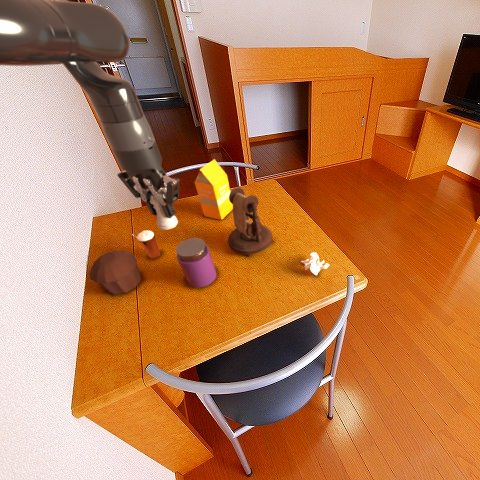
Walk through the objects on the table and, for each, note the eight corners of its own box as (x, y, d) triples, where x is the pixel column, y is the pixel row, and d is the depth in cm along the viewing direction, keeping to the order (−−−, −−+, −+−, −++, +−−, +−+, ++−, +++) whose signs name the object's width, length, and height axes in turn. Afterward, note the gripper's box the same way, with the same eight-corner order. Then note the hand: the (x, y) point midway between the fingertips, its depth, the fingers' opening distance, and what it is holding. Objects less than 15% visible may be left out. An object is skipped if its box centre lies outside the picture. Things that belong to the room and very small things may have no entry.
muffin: (109, 271, 83) (92, 246, 76) (149, 265, 85) (136, 240, 79) (95, 302, 74) (74, 277, 68) (140, 295, 76) (124, 270, 70)
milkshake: (144, 253, 89) (131, 228, 83) (162, 248, 91) (151, 224, 84) (144, 262, 86) (130, 237, 80) (162, 257, 88) (151, 233, 81)
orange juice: (204, 216, 105) (189, 167, 92) (217, 204, 112) (205, 157, 99) (222, 220, 104) (209, 171, 91) (234, 207, 110) (224, 160, 97)
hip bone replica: (331, 261, 83) (314, 269, 80) (329, 271, 86) (312, 280, 82) (315, 247, 88) (298, 254, 84) (314, 257, 91) (297, 264, 87)
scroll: (220, 243, 94) (206, 192, 81) (254, 224, 103) (246, 175, 90) (247, 264, 87) (237, 212, 74) (281, 241, 96) (277, 191, 83)
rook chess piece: (159, 232, 63) (145, 204, 58) (157, 222, 66) (144, 193, 61) (179, 227, 65) (168, 198, 60) (177, 217, 68) (166, 189, 63)
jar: (206, 290, 78) (195, 262, 71) (180, 284, 80) (167, 255, 72) (222, 270, 85) (213, 241, 77) (198, 264, 86) (187, 236, 79)
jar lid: (196, 264, 72) (194, 259, 71) (171, 258, 74) (169, 253, 72) (212, 246, 78) (210, 240, 76) (189, 240, 79) (187, 235, 78)
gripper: (85, 144, 51) (126, 218, 62) (150, 154, 48) (180, 230, 60) (117, 130, 56) (149, 201, 68) (177, 139, 54) (200, 211, 65)
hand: (164, 214), depth 64 cm, fingers closed on rook chess piece, 3 cm apart
